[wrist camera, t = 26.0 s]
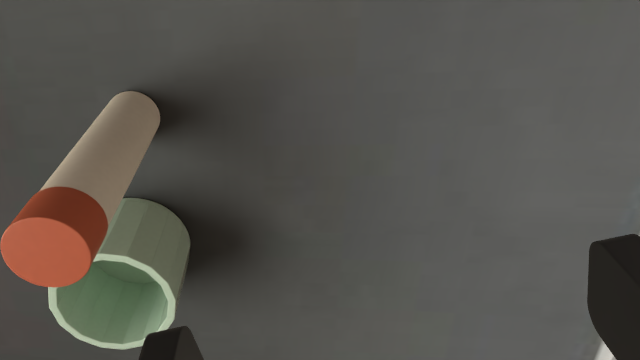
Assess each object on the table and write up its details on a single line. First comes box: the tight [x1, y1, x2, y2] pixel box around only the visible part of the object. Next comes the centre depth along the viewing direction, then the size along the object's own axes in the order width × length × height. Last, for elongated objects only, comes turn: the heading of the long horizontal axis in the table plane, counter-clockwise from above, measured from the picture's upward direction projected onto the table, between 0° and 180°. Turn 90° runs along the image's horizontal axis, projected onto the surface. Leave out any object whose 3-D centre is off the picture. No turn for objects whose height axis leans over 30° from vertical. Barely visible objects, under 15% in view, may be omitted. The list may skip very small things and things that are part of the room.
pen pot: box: [48, 198, 190, 349], centre depth 44 cm, size 9×9×8 cm
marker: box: [1, 91, 160, 287], centre depth 34 cm, size 4×4×18 cm
